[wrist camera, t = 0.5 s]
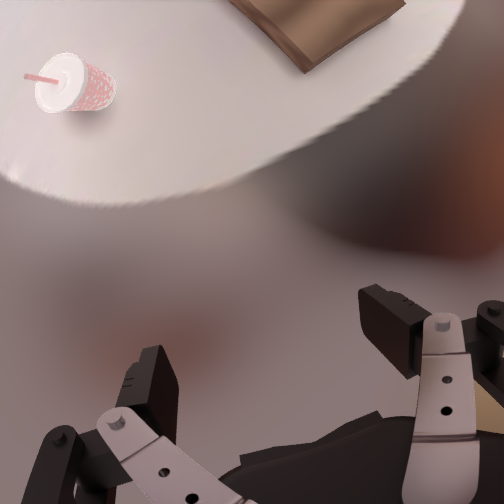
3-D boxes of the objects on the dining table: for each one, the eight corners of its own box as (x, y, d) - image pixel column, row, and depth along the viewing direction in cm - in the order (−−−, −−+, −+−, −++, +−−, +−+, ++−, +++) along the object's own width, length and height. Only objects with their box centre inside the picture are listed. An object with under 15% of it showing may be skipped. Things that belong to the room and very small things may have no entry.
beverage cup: (70, 105, 30) (-7, 99, 17) (94, 61, 28) (23, 35, 15) (106, 124, 31) (32, 123, 18) (131, 78, 29) (66, 51, 16)
